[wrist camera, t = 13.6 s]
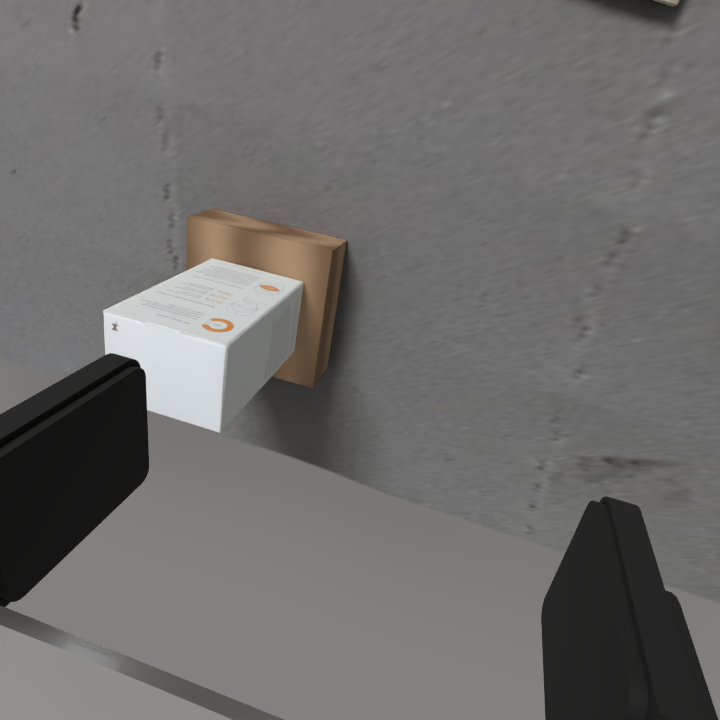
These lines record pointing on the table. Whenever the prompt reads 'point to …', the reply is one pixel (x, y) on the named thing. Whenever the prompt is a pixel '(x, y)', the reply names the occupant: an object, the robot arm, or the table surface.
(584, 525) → the robot arm
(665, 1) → the decorative slab
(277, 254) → the walnut base
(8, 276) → the table surface
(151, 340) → the small box
